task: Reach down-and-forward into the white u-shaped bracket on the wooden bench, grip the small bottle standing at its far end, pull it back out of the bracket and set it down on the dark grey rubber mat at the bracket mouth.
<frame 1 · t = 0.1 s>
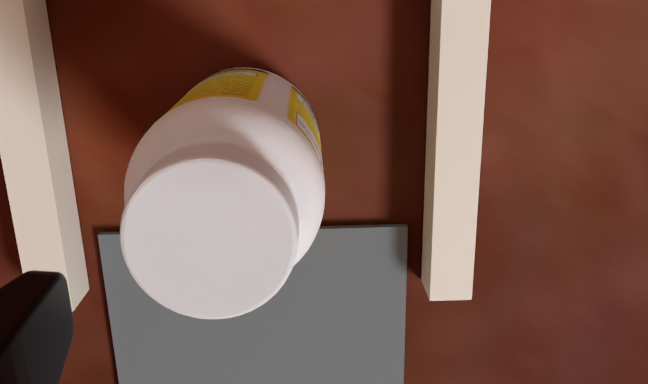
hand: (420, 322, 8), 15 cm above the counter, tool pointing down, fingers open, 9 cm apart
mat: (261, 360, 26), on the counter
white u-shaped bracket: (247, 139, 23), on the counter
supplement bottle: (248, 138, 23), on the counter
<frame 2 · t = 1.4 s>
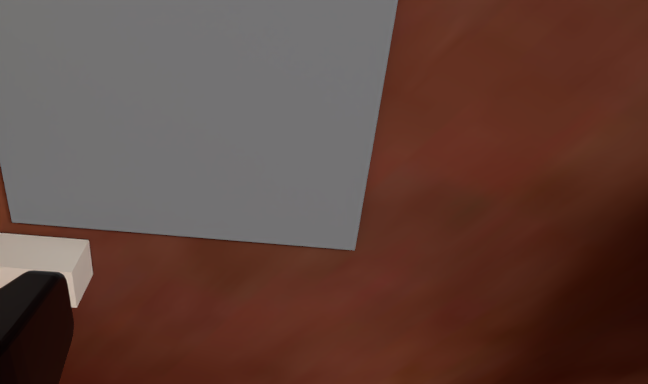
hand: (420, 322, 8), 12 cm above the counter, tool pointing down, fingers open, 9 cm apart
mat: (186, 73, 19), on the counter
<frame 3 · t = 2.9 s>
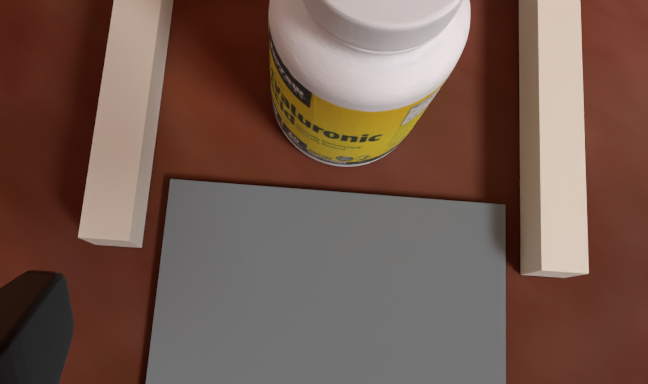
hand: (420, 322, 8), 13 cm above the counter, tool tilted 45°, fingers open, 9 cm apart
mat: (329, 366, 21), on the counter
white u-shaped bracket: (343, 100, 23), on the counter
supplement bottle: (343, 103, 23), on the counter
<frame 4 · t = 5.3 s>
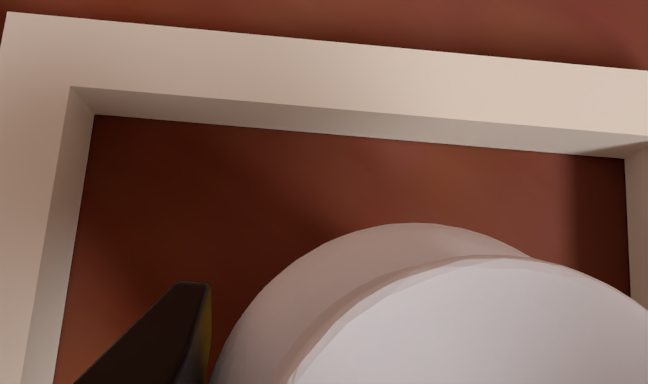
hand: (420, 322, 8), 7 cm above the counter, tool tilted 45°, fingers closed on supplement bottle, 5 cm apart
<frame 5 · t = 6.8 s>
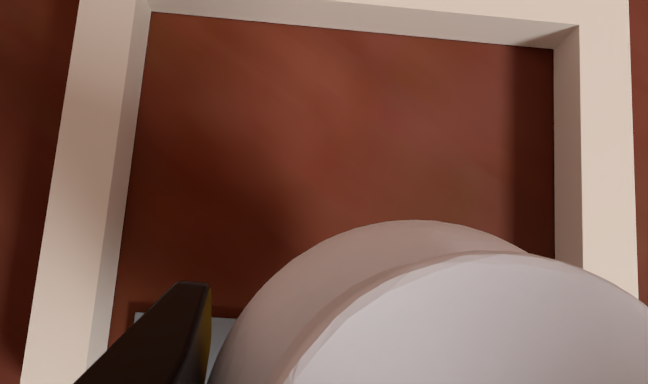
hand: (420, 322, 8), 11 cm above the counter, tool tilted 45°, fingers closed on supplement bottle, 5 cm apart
white u-shaped bracket: (345, 209, 19), on the counter
supplement bottle: (352, 383, 14), point 4 cm above the counter, touching gripper
when the fingers open (8 cm above the counter, at t = 8.3 s): supplement bottle stays where it is, resting on mat.
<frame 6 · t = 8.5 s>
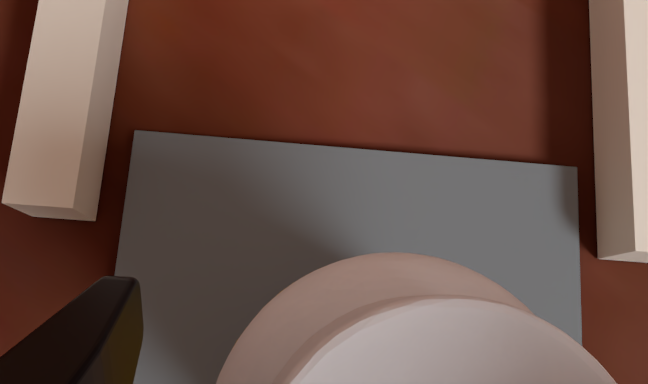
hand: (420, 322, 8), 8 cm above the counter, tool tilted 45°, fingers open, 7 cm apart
mat: (346, 380, 15), on the counter
white u-shaped bracket: (363, 33, 17), on the counter
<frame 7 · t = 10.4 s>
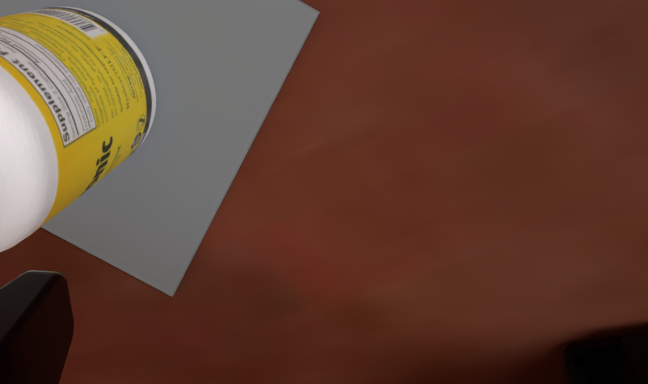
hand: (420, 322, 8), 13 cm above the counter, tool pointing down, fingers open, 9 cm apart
mat: (83, 82, 21), on the counter
supplement bottle: (87, 86, 21), resting on mat
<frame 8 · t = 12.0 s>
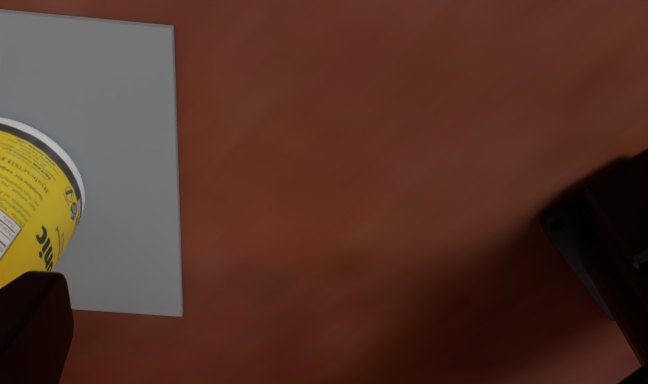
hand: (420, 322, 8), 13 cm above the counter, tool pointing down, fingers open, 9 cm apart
mat: (9, 175, 22), on the counter
supplement bottle: (14, 178, 22), resting on mat
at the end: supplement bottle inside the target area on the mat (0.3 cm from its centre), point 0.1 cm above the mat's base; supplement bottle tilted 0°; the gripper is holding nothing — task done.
